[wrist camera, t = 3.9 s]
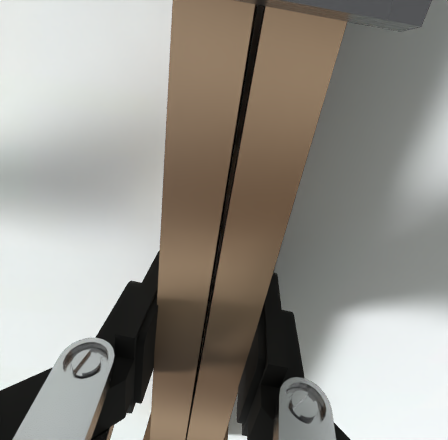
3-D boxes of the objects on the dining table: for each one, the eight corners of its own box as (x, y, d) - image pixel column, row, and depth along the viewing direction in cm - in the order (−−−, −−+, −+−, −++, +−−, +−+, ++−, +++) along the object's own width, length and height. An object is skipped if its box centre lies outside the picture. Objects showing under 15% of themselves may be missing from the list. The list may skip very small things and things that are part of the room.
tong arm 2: (184, -24, 8) (138, -88, 4) (260, -12, 8) (266, -67, 4) (154, 430, 18) (134, 505, 15) (187, 435, 18) (173, 512, 15)
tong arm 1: (267, -11, 8) (278, -65, 4) (342, 3, 8) (406, -43, 4) (186, 435, 18) (173, 512, 15) (218, 441, 18) (212, 519, 15)
